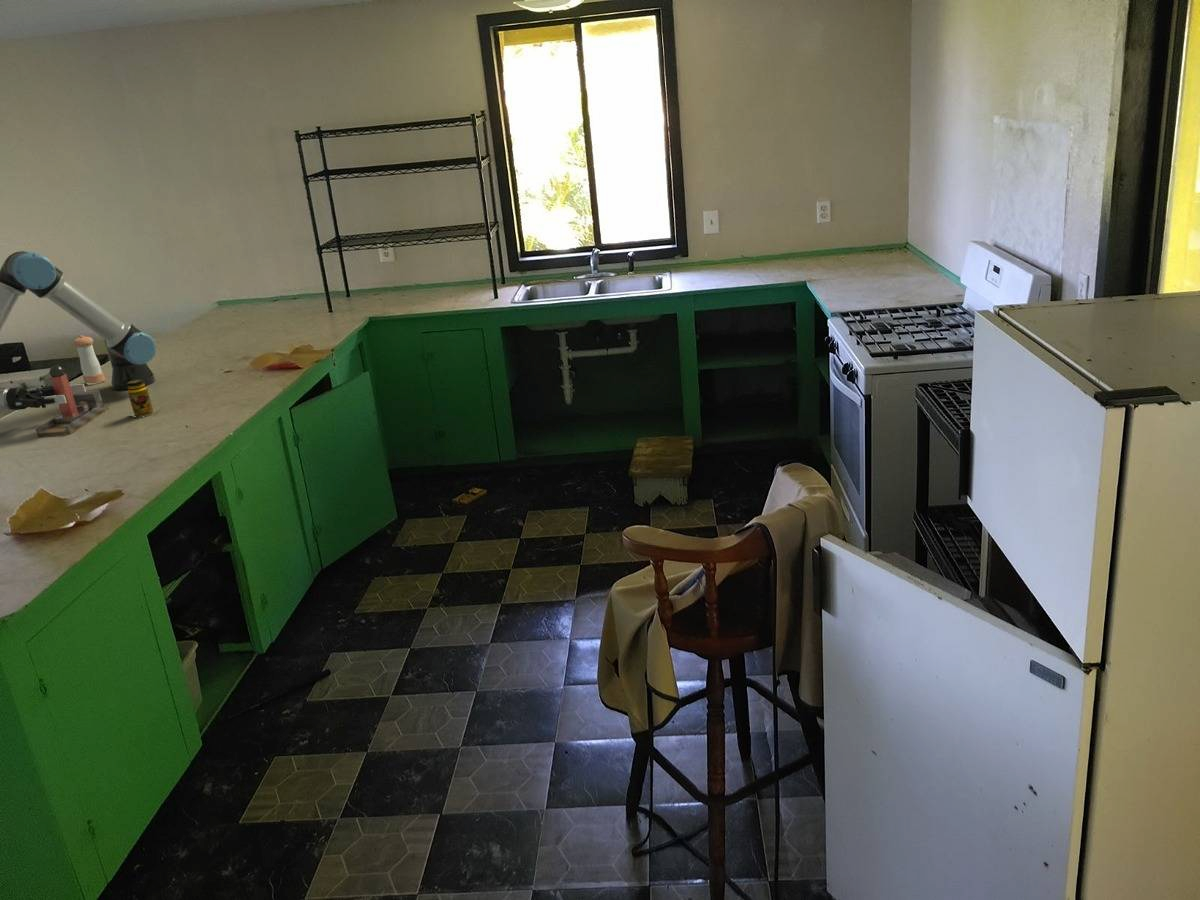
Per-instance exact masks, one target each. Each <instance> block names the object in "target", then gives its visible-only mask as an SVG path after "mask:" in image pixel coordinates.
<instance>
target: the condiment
mask: <svg viewBox="0 0 1200 900" xmlns="http://www.w3.org/2000/svg"><path fill="white" fill-rule="evenodd" d="M127 385H128V389H127V394H128V398H129V400H130V401H129V402H130V404H131V407H132V408H131V409H132V410H133V411H132V412H133V414H135V416H136V417H142V416H147V415H149V416H151V415H150V414H152V413H153V410H154V409H153V407H154V406H153V405H152V400H151V397H150V395H149V394H150V393H149V391H148V388H147V387H146V386H145V384H144V381H143V380H142V379H137V380H132V381H130V382H128V383H127ZM157 411H158V412H157V413H159V412H160V410H157ZM152 415H153V414H152ZM147 417H148V416H147Z"/></svg>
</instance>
